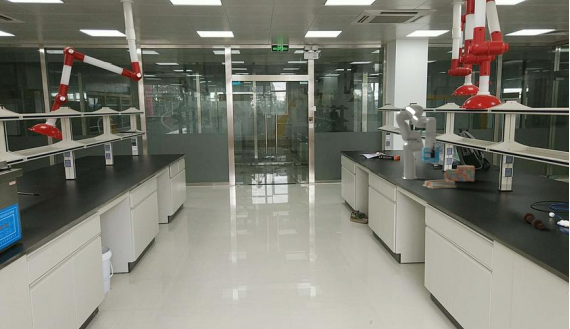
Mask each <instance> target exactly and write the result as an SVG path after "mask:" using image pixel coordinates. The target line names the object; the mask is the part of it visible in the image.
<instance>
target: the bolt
mask: <svg viewBox="0 0 570 329" xmlns="http://www.w3.org/2000/svg"><path fill="white" fill-rule="evenodd" d="M522 219H523V221H524V222H525V223H530V224H531V226H532V227H533V228H534V229H539V230H543V229H545V228H546V227H545V224H544V223H543V221H542V219H540V218H535V215H534V214H533V213H532V212H525V213H524V214H523V215H522Z"/></svg>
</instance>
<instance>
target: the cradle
mask: <svg viewBox="0 0 570 329" xmlns="http://www.w3.org/2000/svg"><path fill="white" fill-rule="evenodd" d="M455 184H456V181H451V180H447V179H445V178H444V179H435V180H433V179H432V180H424V183H423V184H422V186H423V187H426V188H429V189H433V190H435V189H446V188H447V189H449V188H457V185H455Z"/></svg>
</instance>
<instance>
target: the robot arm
mask: <svg viewBox="0 0 570 329" xmlns="http://www.w3.org/2000/svg"><path fill="white" fill-rule="evenodd" d="M423 113H424V108H423V106H421V105H409V106H407V107H406V108H405V110H400V111H398V112H397V113H396V114H395V122H396V124H397V127H399V132H400V135H401V139H402V141H403V142H404V144H403V145H402V150H403V176H401V178H402V179H403V180H417V179H418V177H417V176H416V156H415V154H419V153H422V148H423V147H428V149H431V158H435V151H436V149H437V148H436V147H437V118H433V117H431V118H430V117H425V118H424V117H423ZM407 121H411V124H412V125H413V126H414V127H415V128H418V129H423V128H425V139H424V142H423V138H422V134H421V132H420V131H419V130H415V129H414V130H412V129H411V127H410V125H409V123H408V122H407ZM432 148H434V149H432ZM432 150H433V151H432Z"/></svg>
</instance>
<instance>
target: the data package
mask: <svg viewBox="0 0 570 329" xmlns="http://www.w3.org/2000/svg"><path fill="white" fill-rule="evenodd" d="M436 148H437V149H436V151H435V158H431V149H428V147H425V146H424V147H423V148H422V152H421V161H422V162H421V163H425V164H432V163H433V164H436V163H437V164H438V163H439V161H440V148H439V147H438V146H436ZM432 149H434V148H432ZM432 151H433V150H432Z"/></svg>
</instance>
